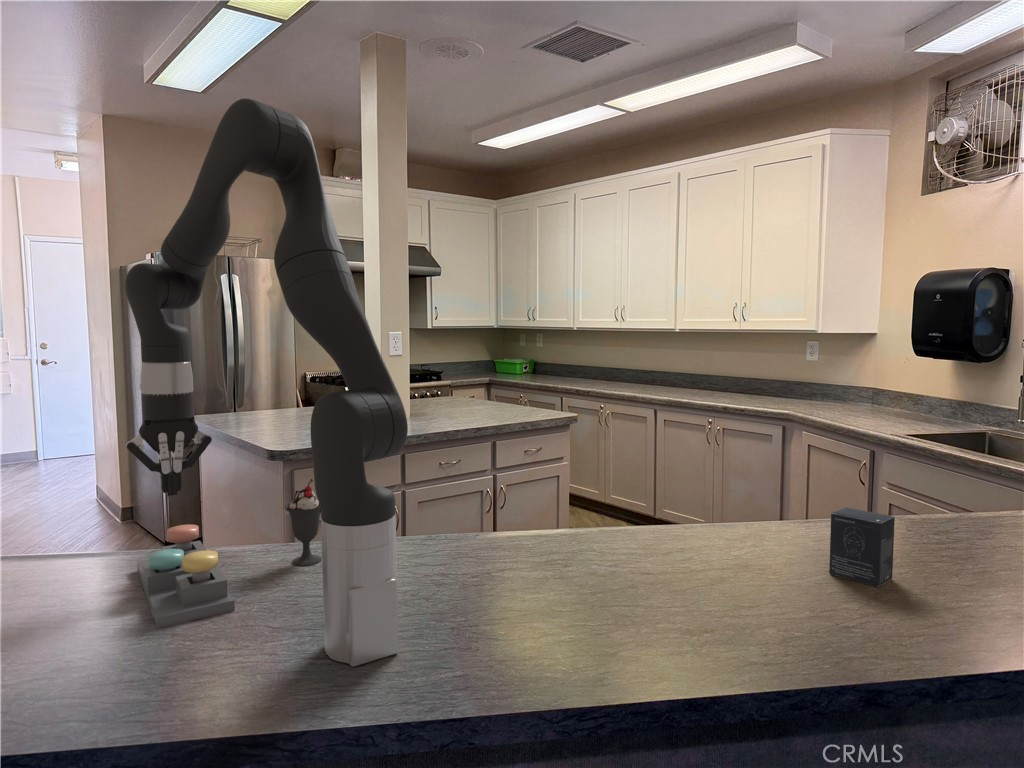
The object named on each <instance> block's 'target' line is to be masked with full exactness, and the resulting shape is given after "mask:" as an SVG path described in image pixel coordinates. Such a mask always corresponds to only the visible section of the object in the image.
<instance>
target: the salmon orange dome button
mask: <svg viewBox="0 0 1024 768" xmlns="http://www.w3.org/2000/svg"><path fill="white" fill-rule="evenodd" d="M199 528H200V527H199V525H196V524H180V525H176V526H172V527H170V528H167V530H166V542H168V543H174V545H175V546H176V549H181V550H183V551H184V552H185V551H190V550H192V545H191V542H193V541H195V540H197V539H198V538H199V537H200V532H199V531H200V530H199Z"/></svg>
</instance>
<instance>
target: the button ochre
mask: <svg viewBox="0 0 1024 768" xmlns="http://www.w3.org/2000/svg"><path fill="white" fill-rule="evenodd" d="M218 565H219V553H218V551H215V550H207V549H206V550H205V551H197V552H192V553H189V554H187V555H185V556H183V557H182V570H183V571H185V572H191V573H192V584H195V583H200V582H205V581H210V570H211V569H215V568H218Z"/></svg>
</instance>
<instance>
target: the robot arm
mask: <svg viewBox="0 0 1024 768" xmlns="http://www.w3.org/2000/svg"><path fill="white" fill-rule="evenodd" d="M317 156H318V155H317V152H316V148H315V145H314V140H313V138H312V134H311V132H310V130H309V128H308V127H307V125H306V124H305V122H304V121H303V120H301V118H299V117H297V116H296V115H294V114H292V113H290V112H288V111H285V110H282V109H280V108H277V107H274V106H271V105H269V104H266V103H263V102H261V101H258V100H256V99H252V98H240V99H237V100H236V101H234V102H233V103H232V104H231V105H230V106H229V107H228V109H227V110H226V111H225V113H224V114H223V116H222V118H221V119H220V121H219V123H218V125H217V127H216V130H215V133H214V136H213V138H212V140H211V142H210V145H209V148H208V150H207V153H206V155H205V157H204V160H203V162H202V165H201V168H200V170H199V173H198V177H197V179H196V181H195V184H194V187H193V189H192V191H191V194H190V197H189V199H188V200H187V203H186V205H185V207H184V208H183V210H182V211H181V214H180V215H179V216H178V218H177V219H176V221H175V222H174V224H173V226H172V227H171V228H170V230H169V232H168V233H167V235H166V236H165V238H164V240H163V241H162V244H161V247H160V255H161V258H162V259H163V261H164V262H165V263H166V264H159V263H158V264H156V263H143V262H142V263H137V264H135V265H133V266H132V267H131V268H130V269H129V271H127V274H126V276H125V277H126V278H125V282H124V290H125V294H126V298H127V302H128V303H129V306H130V309H131V311H132V314H133V317H134V321H135V325H136V327H137V331H138V333H139V337H140V354H141V358H140V359H141V366H140V367H141V369H140V384H139V388H140V396H141V397H140V401H141V419H142V420H141V421H142V422H141V426H140V427H139V430H138V433H139V434H137V435H136V436H135V437H133V438H132V439H131V440H130V439H129V440H127V441H125V443H124V444H125V445H124V446H125V447H126V449H127V450H128V451H129V452H130V453H131V454H132V455H133V456H134V457H135V458H137V460H138V461H140V462H141V464H143V465H144V466H145V467H146V468H147V469H148V470H149V471H151V472H156V473H159V475H160V489H161V491H162V492H163V494H165V496H167V497H171V496H177V495H178V492H181V490H182V471H184V470H185V469H187V468H192V467H193V466H194V465H195V464H196V462H197V461H198V460H199V458H200V457H201V456H202V454H203V453H204V451H206V449H207V448H208V446H210V445H211V443H212V441H213V438H212V437H211V435H209V434H207V433H204V432H202V431H200V430H199V425H198V424H197V422H196V420H195V399H194V397H195V396H194V395H195V394H194V393H195V392H194V391H195V390H194V374H193V373H194V372H193V369H192V363H191V362H192V360H191V359H192V358H191V336H190V331H189V330H188V328H187V327H185V326H183V325H181V324H175V323H171V322H169V321H167V319H166V317H165V316H164V314H163V311H162V310H186V309H189V308H191V307H192V306H193V305H195V304H196V303H197V302H198V301H199V300H200V297H201V295H202V292H203V291H202V290H203V287H204V283H205V281H206V275H207V272H208V269H209V266H210V265H211V263H212V262H213V261H214V260H215V258H217V255H218V254H219V253H220V251H221V250H222V248H223V247H224V245H225V243H226V241H227V240H228V237H229V234H230V230H231V215H230V214H231V213H230V201H229V196H230V191H231V188H232V185H234V183H235V181H237V179H238V178H239V177H240V175H242V174H243V172H245V171H246V172H248V173H252V174H255V175H259V176H262V177H267V178H269V179H272V180H273V181H275V183H276V185H277V186H278V188H279V190H280V193H281V194H280V195H281V197H282V201H283V204H284V208H285V219H284V223H283V226H282V228H281V231H280V234H279V236H278V239H277V241H276V245H275V250H274V253H273V254H274V255H273V262H274V269H275V273H276V277H277V279H278V282H279V285H280V288H281V292H282V295H283V298H284V301H285V305H286V307H287V309H288V310H289V312H290V314H291V315H292V317H294V319H295V320H296V321H297V323H298V324H299V325H300V326H301V327H302V328H303V329H304V330H305V332H306V333H307V334H308V335H309V336H311V338H312V339H314V341H315V342H316V343H317V344H318V345H319V346H320V347H322V349H323V350H324V351H325V352H326V353H327V354H328V355H329V356H330V357H331V359H332V360H333V361H334V363H335V364H336V366H337V368H338V370H339V371H340V373H341V375H342V378H343V380H344V383H345V385H346V388H347V390H338V391H333V392H332V391H331V392H328V393H325V394H323V395H322V396H320V397H319V398H318V399H317V401H316V402H315V404H314V406H313V409H312V413H311V417H310V418H311V419H310V445H311V456H312V468H313V482H314V490H315V496H316V499H317V500H318V501H319V504H320V509H321V513H320V522H321V523H320V526H321V565H322V571H321V572H322V594H323V595H322V599H323V600H322V601H323V602H322V605H323V606H322V607H323V630H324V631H323V633H324V636H323V637H324V653H325V652H326V653H325V654H326V656H327V655H328V656H329V657H328V656H327V657H328V658H329V659H332V660H334V661H336V662H339V663H344V664H345V663H346V664H348V665H349V666H351V667H357V666H360V665H363V664H364V665H365V664H366V663H367V664H368V663H370V662H373V661H376V660H379V659H382V658H386V657H389V656H393V655H396V654H398V653H399V611H398V610H399V609H398V607H399V606H398V605H399V604H398V603H399V602H398V580H397V523H396V521H397V517H396V498H395V497H396V496H395V493H394V492H393V491H392V490H391V489H389V488H387V487H384V486H379V485H374V484H370V483H369V482H368V481H367V476H366V470H365V469H366V468H365V463H366V462H372V461H376V460H382V459H385V458H390V457H393V456H395V455H397V454H399V453H400V452H401V451H402V449H403V448H404V447H405V444H406V441H407V440H408V433H409V427H408V426H409V424H408V419H407V414H406V409H405V407H404V403H403V401H402V399H401V396H400V393H399V392H398V389H397V386H396V385H395V383H394V380H393V378H392V377H391V374H390V372H389V369H388V367H387V366H386V363H385V361H384V359H383V357H382V354H381V352H380V350H379V348H378V345H377V342H376V341H375V338H374V336H373V333H372V330H371V327H370V325H369V322H368V319H367V317H366V314H365V312H364V308H363V306H362V303H361V301H360V297H359V294H358V290H357V288H356V284H355V281H354V280H355V279H354V277H353V274H352V271H351V268H350V265H349V263H348V260H347V256H346V254H345V251H344V249H343V247H342V246H343V245H342V244H341V241H340V239H339V235H338V233H337V229H336V226H335V223H334V219H333V216H332V213H331V209H330V206H329V202H328V199H327V196H326V192H325V188H324V184H323V179H322V175H321V170H320V166H319V161H318V157H317ZM143 440H144V441H145V443H146V444H147V445H148V446H149V447H150V448H151V449H152V450H153V451H154V452H156V453H157V457H158V462H155V461H153V459H151V457H149V456H148V454H146V453H145V451H143V450H144V448H145V445H144V442H143ZM192 440H193V442H194V445H193V447H192V448H191V449H190V450H189V452H188V453H187V454H186V456H185V457H184V450H185V449H186V448H187V447H188V445H189V444H190V443H191V442H192ZM169 452H170V453H169ZM170 455H171V458H170ZM170 460H171V461H170Z"/></svg>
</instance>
